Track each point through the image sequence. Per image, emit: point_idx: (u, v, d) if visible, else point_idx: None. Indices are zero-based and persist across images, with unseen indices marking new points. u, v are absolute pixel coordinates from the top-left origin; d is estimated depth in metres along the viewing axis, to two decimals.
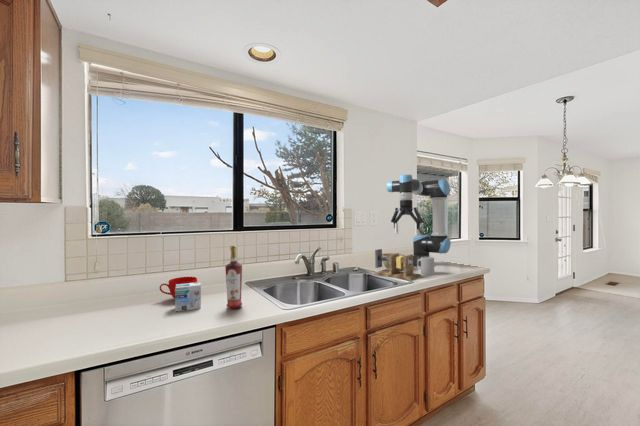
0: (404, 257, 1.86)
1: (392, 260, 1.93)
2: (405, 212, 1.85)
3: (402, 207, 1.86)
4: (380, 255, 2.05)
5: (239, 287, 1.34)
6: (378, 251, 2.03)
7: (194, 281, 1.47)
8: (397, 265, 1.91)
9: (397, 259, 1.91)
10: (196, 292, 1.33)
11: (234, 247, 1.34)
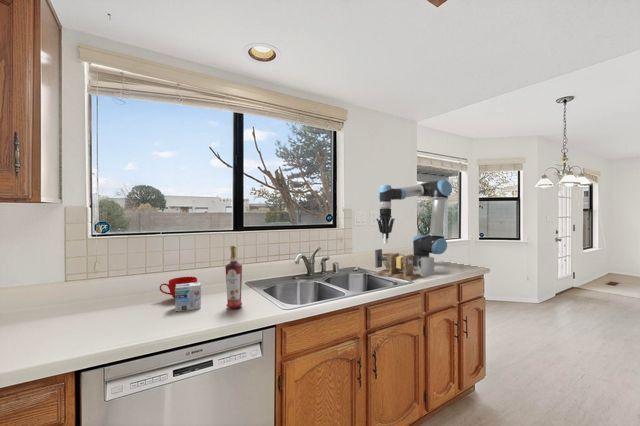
0: (404, 257, 1.86)
1: (392, 260, 1.93)
2: (384, 219, 2.00)
3: (380, 214, 2.02)
4: (380, 255, 2.05)
5: (239, 287, 1.34)
6: (378, 251, 2.03)
7: (194, 281, 1.47)
8: (397, 265, 1.91)
9: (397, 259, 1.91)
10: (196, 292, 1.33)
11: (234, 247, 1.34)
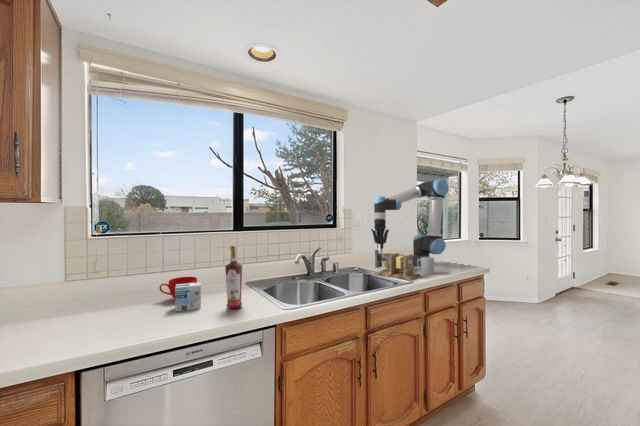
0: (404, 257, 1.86)
1: (392, 260, 1.93)
2: (379, 230, 2.03)
3: (375, 225, 2.05)
4: (380, 255, 2.05)
5: (239, 287, 1.34)
6: None
7: (194, 281, 1.47)
8: (397, 265, 1.91)
9: (397, 259, 1.91)
10: (196, 292, 1.33)
11: (234, 247, 1.34)
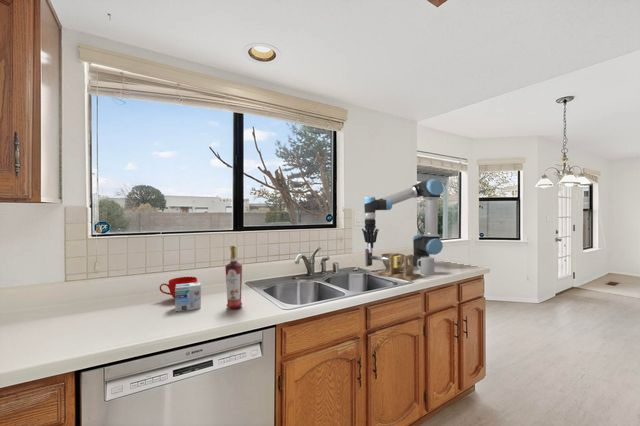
0: (404, 257, 1.86)
1: None
2: (369, 230, 2.08)
3: None
4: (370, 254, 2.10)
5: (239, 287, 1.34)
6: (368, 250, 2.09)
7: (194, 281, 1.47)
8: (393, 265, 1.93)
9: (393, 259, 1.93)
10: (196, 292, 1.33)
11: (234, 247, 1.34)
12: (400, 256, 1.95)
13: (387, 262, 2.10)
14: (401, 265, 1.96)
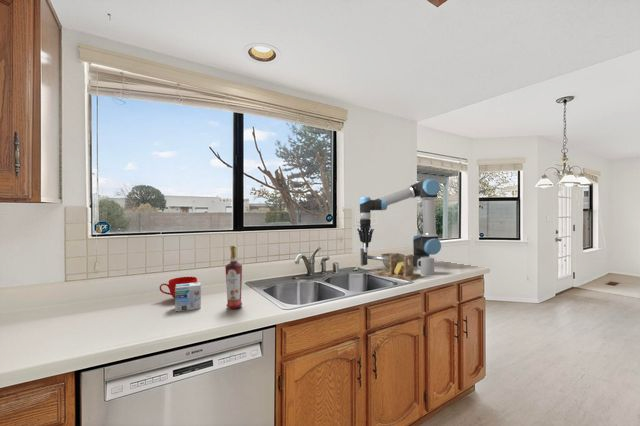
0: (404, 257, 1.86)
1: (392, 260, 1.93)
2: (364, 230, 2.11)
3: (361, 224, 2.13)
4: (365, 253, 2.13)
5: (239, 287, 1.34)
6: (363, 250, 2.11)
7: (194, 281, 1.47)
8: (395, 270, 1.92)
9: (398, 265, 1.91)
10: (196, 292, 1.33)
11: (234, 247, 1.34)
12: None
13: (387, 262, 2.10)
14: (402, 272, 1.95)
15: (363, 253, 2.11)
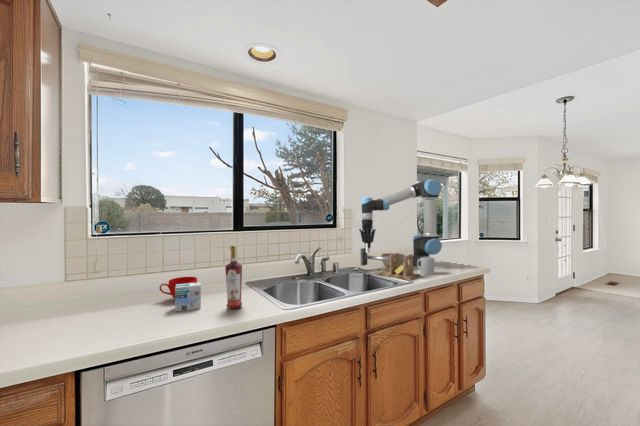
0: (404, 257, 1.86)
1: (392, 260, 1.93)
2: (366, 230, 2.10)
3: (363, 225, 2.12)
4: (365, 253, 2.13)
5: (239, 287, 1.34)
6: (363, 250, 2.11)
7: (194, 281, 1.47)
8: (396, 270, 1.91)
9: (400, 266, 1.89)
10: (196, 292, 1.33)
11: (234, 247, 1.34)
12: None
13: (387, 262, 2.10)
14: (402, 272, 1.95)
15: (363, 253, 2.11)
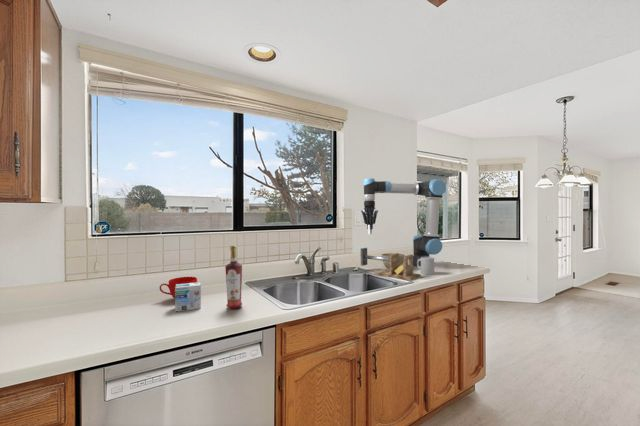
0: (404, 257, 1.86)
1: (392, 260, 1.93)
2: (368, 211, 2.09)
3: (365, 206, 2.11)
4: (365, 253, 2.13)
5: (239, 287, 1.34)
6: (363, 250, 2.11)
7: (194, 281, 1.47)
8: (396, 270, 1.91)
9: (400, 266, 1.89)
10: (196, 292, 1.33)
11: (234, 247, 1.34)
12: None
13: (387, 262, 2.10)
14: (402, 272, 1.95)
15: (363, 253, 2.11)
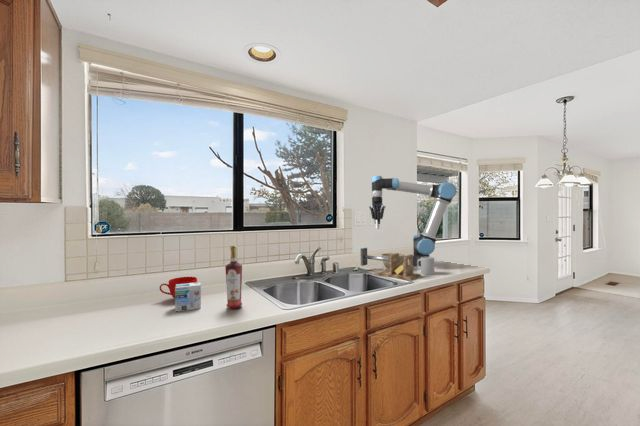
0: (404, 257, 1.86)
1: (392, 260, 1.93)
2: (376, 207, 2.21)
3: (373, 202, 2.23)
4: (365, 253, 2.13)
5: (239, 287, 1.34)
6: (363, 250, 2.11)
7: (194, 281, 1.47)
8: (396, 270, 1.91)
9: (400, 266, 1.89)
10: (196, 292, 1.33)
11: (234, 247, 1.34)
12: None
13: (387, 262, 2.10)
14: (402, 272, 1.95)
15: (363, 253, 2.11)
